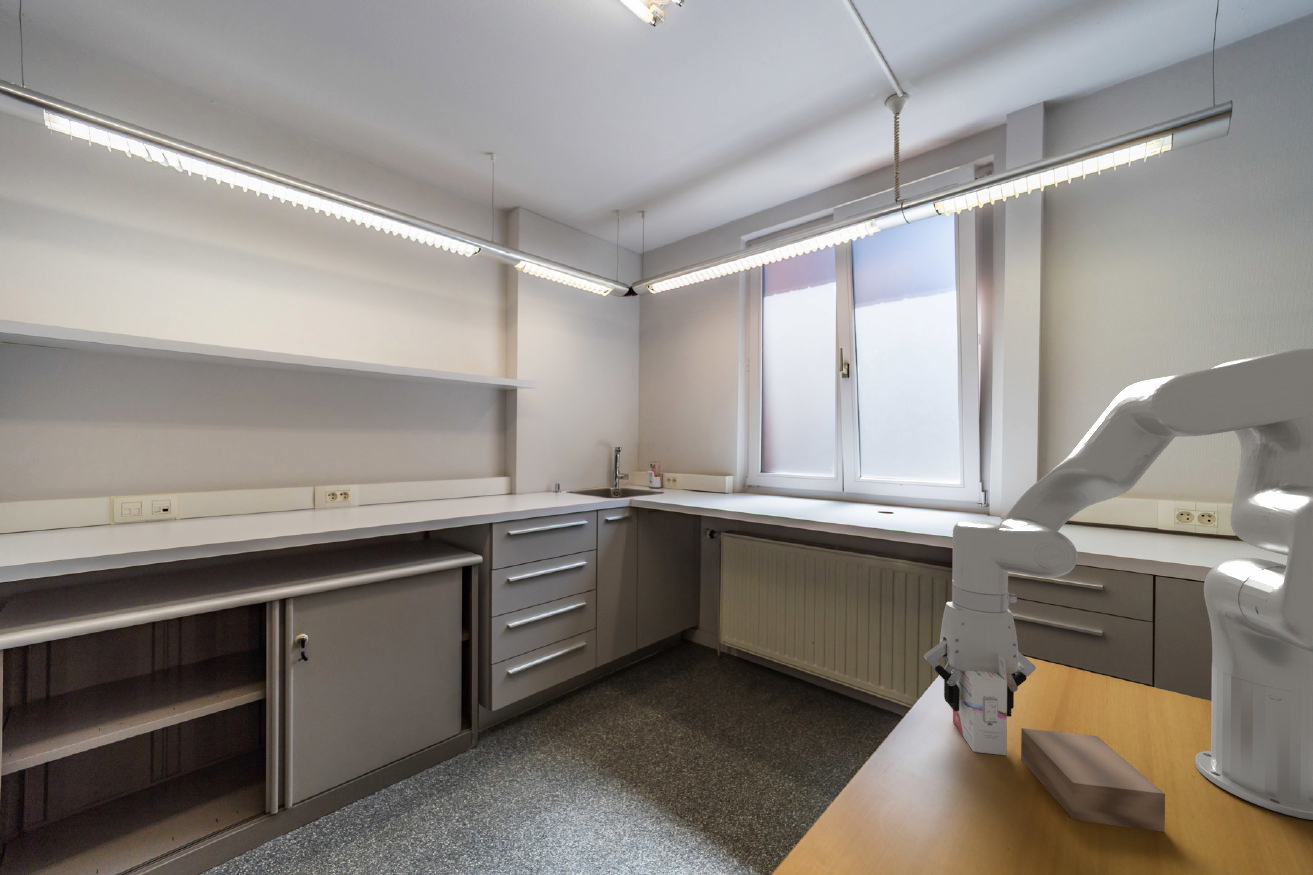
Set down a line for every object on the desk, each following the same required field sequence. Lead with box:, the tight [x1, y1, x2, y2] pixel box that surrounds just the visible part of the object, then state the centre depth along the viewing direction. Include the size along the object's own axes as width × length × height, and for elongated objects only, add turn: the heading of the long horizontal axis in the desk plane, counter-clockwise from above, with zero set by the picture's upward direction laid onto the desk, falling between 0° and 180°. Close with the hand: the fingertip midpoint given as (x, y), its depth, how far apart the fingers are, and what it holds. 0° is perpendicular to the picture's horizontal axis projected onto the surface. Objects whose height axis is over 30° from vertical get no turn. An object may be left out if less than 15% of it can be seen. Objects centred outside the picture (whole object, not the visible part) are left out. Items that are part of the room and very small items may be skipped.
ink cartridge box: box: [952, 655, 1008, 756], centre depth 79 cm, size 9×5×15 cm, turn 168°
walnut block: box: [1020, 728, 1166, 832], centre depth 68 cm, size 10×12×5 cm
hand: (978, 708), depth 79 cm, fingers open, 6 cm apart
